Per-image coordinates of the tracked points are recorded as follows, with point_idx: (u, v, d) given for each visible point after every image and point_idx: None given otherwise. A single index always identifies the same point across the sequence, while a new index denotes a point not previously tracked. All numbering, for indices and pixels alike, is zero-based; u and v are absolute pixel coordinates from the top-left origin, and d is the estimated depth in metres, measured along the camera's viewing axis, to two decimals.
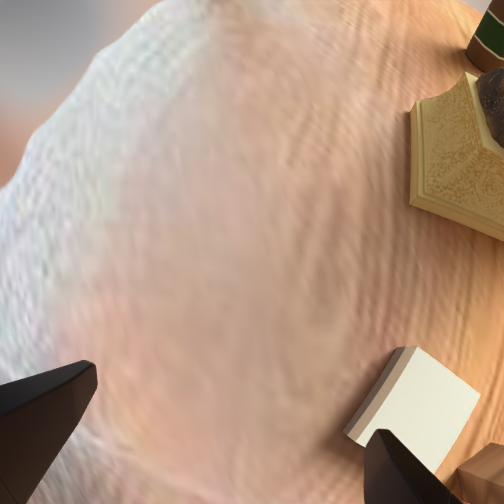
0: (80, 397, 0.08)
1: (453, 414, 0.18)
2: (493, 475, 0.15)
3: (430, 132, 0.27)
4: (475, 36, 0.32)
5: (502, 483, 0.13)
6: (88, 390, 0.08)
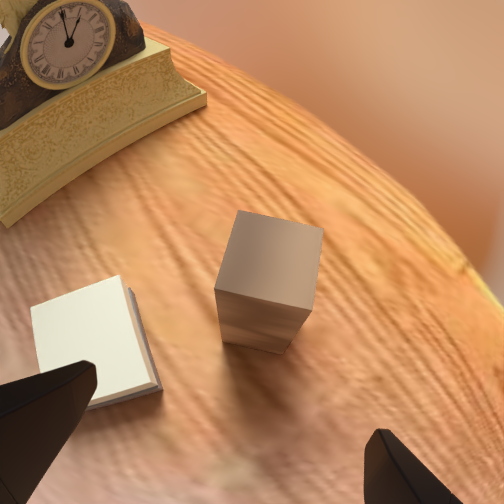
0: (80, 397, 0.08)
1: (105, 315, 0.20)
2: None
3: None
4: None
5: None
6: (88, 390, 0.08)
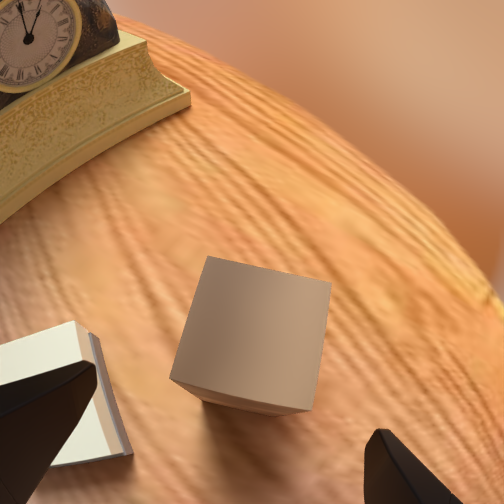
0: (80, 397, 0.08)
1: None
2: None
3: None
4: None
5: None
6: (88, 390, 0.08)
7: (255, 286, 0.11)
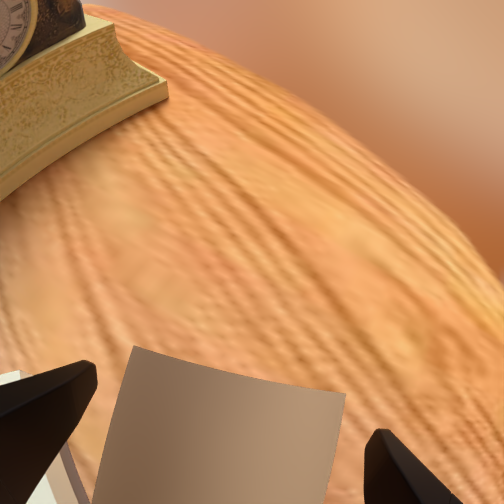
0: (80, 397, 0.08)
1: None
2: None
3: None
4: None
5: None
6: (88, 390, 0.08)
7: (212, 406, 0.06)
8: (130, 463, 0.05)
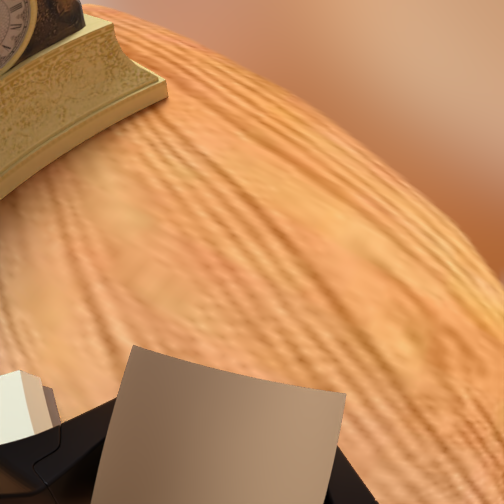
0: None
1: (6, 427, 0.10)
2: None
3: None
4: None
5: None
6: None
7: (211, 405, 0.06)
8: (129, 463, 0.05)
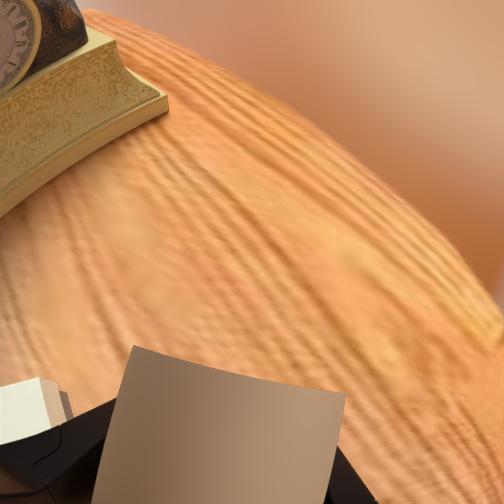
0: None
1: (26, 429, 0.11)
2: None
3: None
4: None
5: None
6: None
7: (212, 405, 0.06)
8: (129, 463, 0.05)
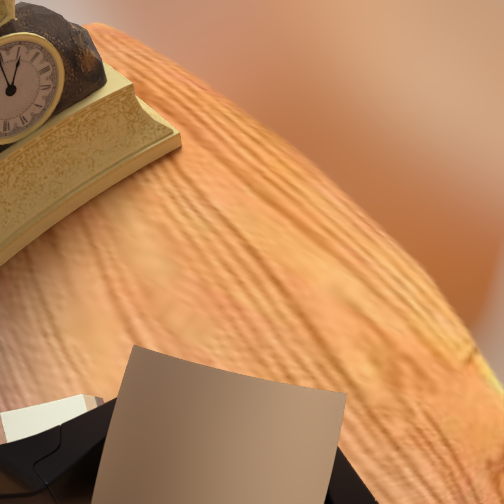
0: None
1: None
2: None
3: None
4: None
5: None
6: None
7: (212, 405, 0.06)
8: (130, 463, 0.05)
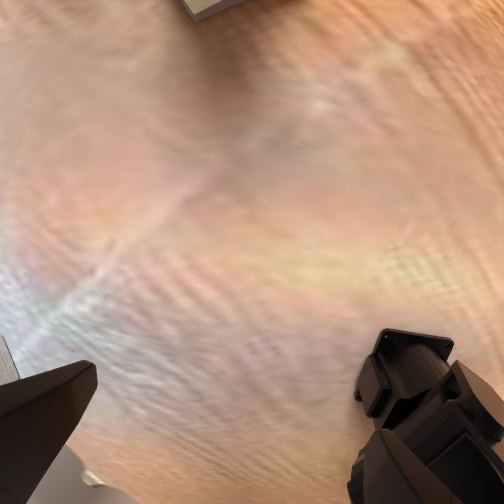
0: (80, 397, 0.08)
1: None
2: None
3: None
4: None
5: None
6: (88, 390, 0.08)
7: None
8: None
